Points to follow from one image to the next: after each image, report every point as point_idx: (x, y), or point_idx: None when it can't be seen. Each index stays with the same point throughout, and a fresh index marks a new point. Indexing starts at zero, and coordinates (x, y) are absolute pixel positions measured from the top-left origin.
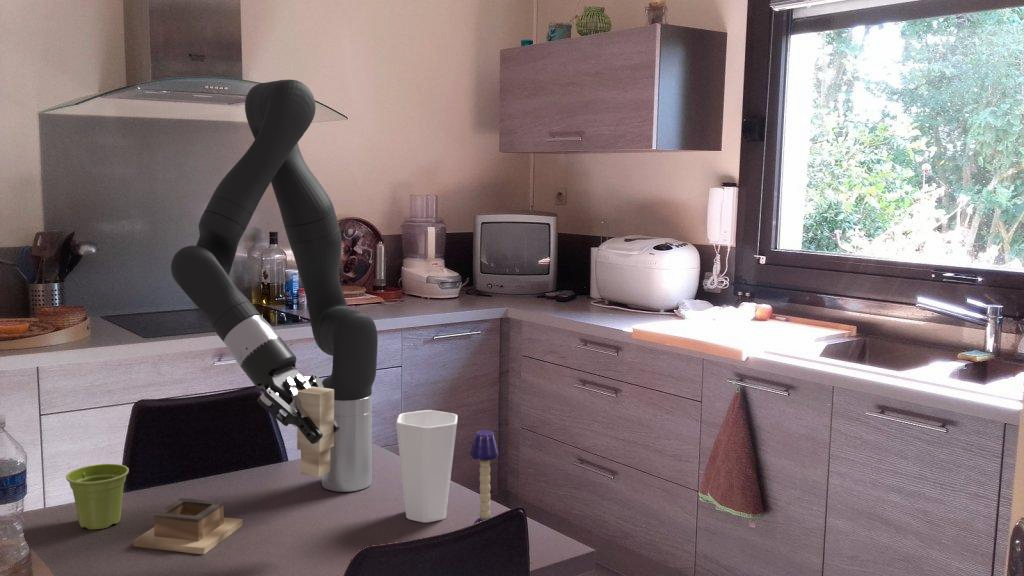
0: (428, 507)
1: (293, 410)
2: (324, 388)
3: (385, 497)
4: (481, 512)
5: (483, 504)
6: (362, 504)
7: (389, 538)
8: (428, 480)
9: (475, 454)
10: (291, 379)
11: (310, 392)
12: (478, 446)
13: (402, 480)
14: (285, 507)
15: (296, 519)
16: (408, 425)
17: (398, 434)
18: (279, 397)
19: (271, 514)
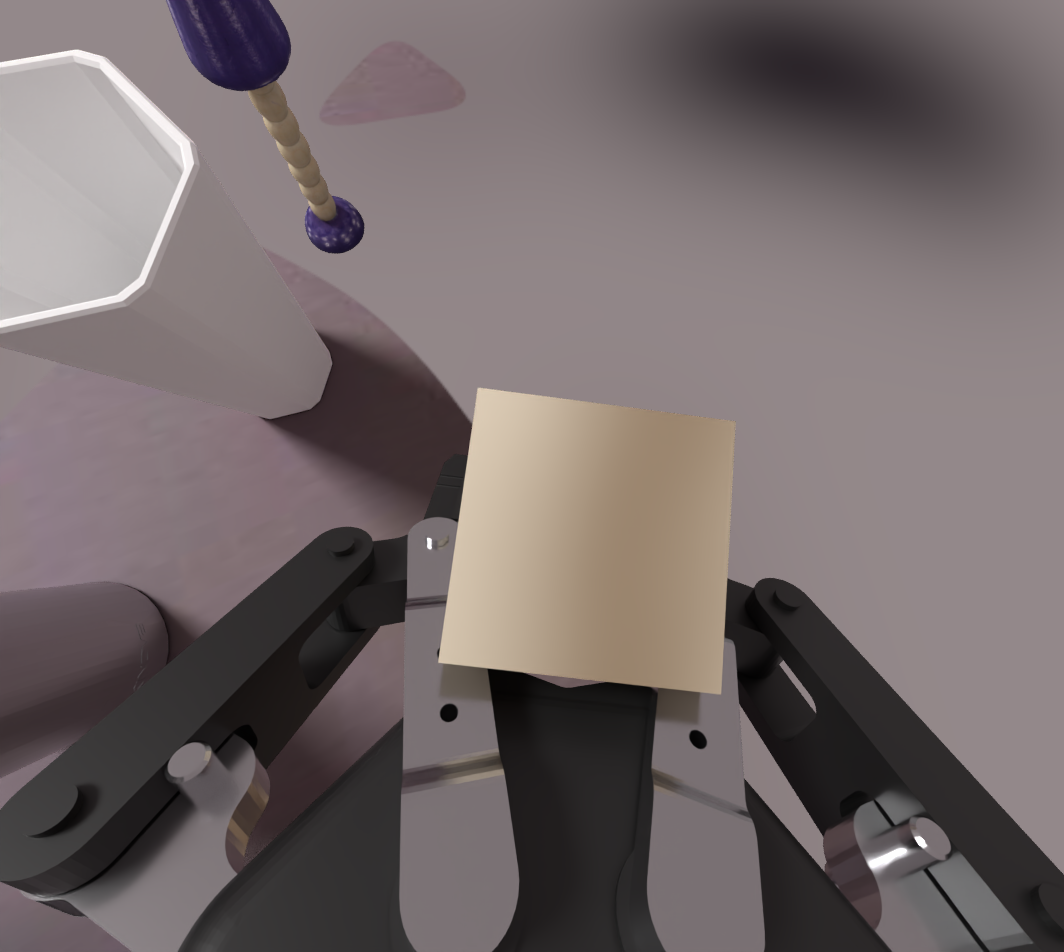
0: (317, 333)
1: (784, 617)
2: (483, 490)
3: (182, 507)
4: (329, 203)
5: (323, 182)
6: (245, 545)
7: (437, 404)
8: (290, 291)
9: (276, 52)
10: (672, 918)
11: (693, 546)
12: (257, 10)
13: (268, 384)
14: (312, 734)
15: (384, 662)
16: (170, 235)
17: (176, 320)
18: (907, 782)
19: (368, 744)
